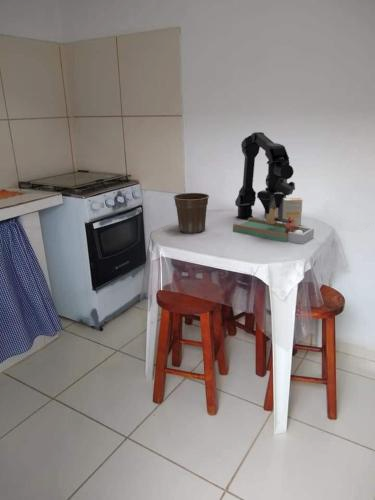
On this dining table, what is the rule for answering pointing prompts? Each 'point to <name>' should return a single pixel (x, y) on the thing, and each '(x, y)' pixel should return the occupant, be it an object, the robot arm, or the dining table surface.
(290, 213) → the supplement box
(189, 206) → the plant pot
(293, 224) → the foosball rod
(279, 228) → the pitch
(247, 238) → the dining table surface
